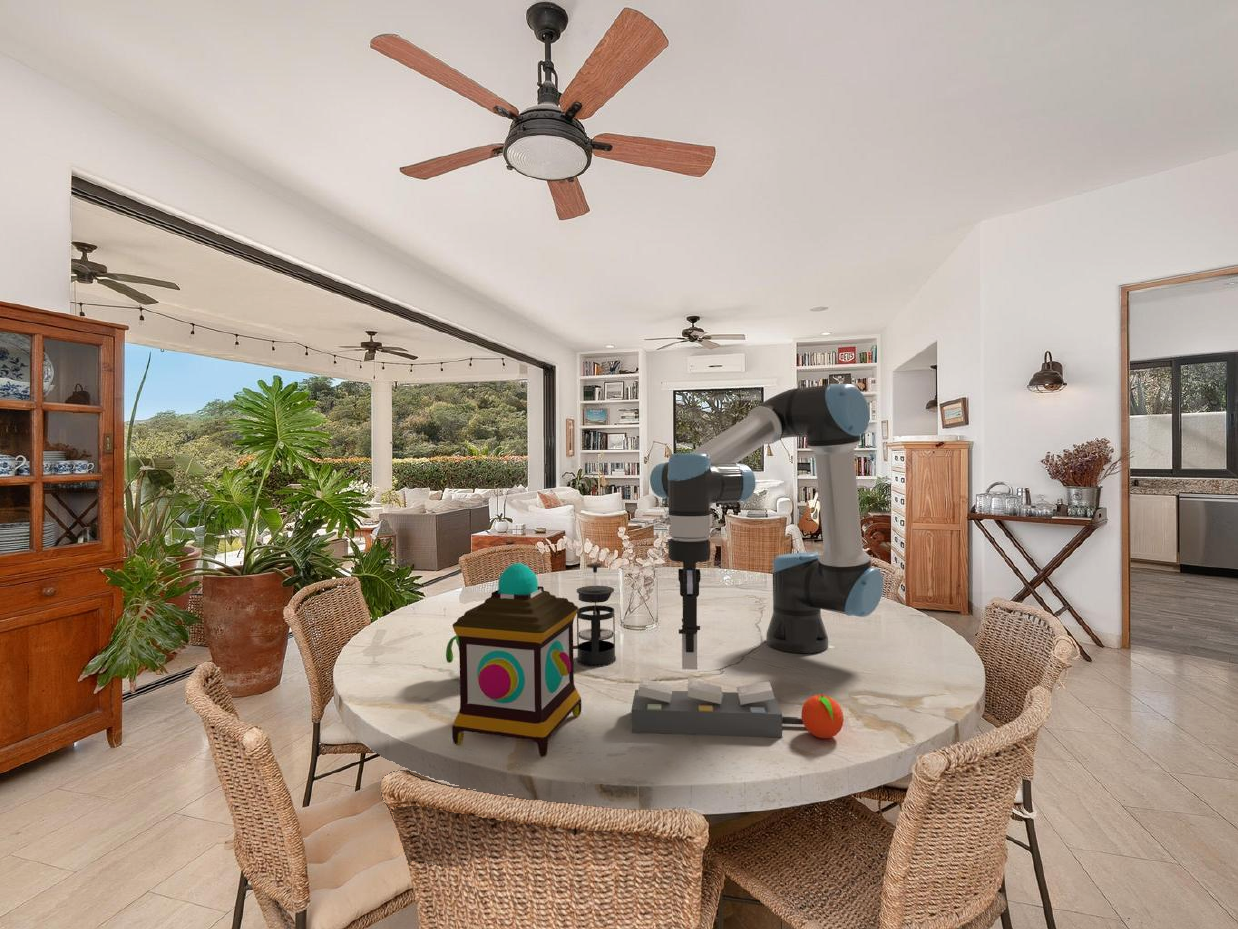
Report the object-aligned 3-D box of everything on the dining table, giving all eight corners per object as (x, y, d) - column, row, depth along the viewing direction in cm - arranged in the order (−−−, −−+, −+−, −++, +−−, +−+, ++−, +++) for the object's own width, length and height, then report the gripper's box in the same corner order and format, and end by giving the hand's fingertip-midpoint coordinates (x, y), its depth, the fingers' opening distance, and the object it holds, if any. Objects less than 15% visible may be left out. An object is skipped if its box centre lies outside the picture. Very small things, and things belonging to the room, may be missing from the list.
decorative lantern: (497, 701, 121) (494, 552, 120) (591, 712, 115) (588, 555, 114) (440, 749, 101) (436, 571, 101) (549, 765, 96) (546, 576, 95)
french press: (618, 653, 149) (617, 560, 148) (618, 666, 139) (617, 567, 139) (571, 653, 149) (569, 560, 148) (567, 667, 139) (566, 568, 139)
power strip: (807, 715, 112) (807, 692, 112) (818, 738, 103) (817, 713, 103) (635, 710, 115) (635, 688, 115) (631, 732, 107) (631, 708, 106)
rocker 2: (719, 695, 111) (721, 686, 111) (720, 704, 107) (722, 694, 107) (687, 687, 112) (689, 678, 112) (687, 696, 108) (689, 686, 108)
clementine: (853, 748, 100) (853, 705, 100) (813, 750, 99) (812, 707, 99) (833, 726, 108) (833, 686, 108) (795, 728, 107) (795, 688, 107)
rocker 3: (771, 690, 110) (768, 680, 110) (774, 698, 106) (772, 689, 106) (738, 695, 111) (736, 686, 111) (740, 704, 107) (738, 695, 107)
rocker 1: (670, 693, 112) (672, 684, 112) (670, 702, 108) (672, 693, 108) (639, 686, 113) (640, 677, 113) (637, 694, 109) (639, 685, 109)
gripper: (669, 533, 116) (669, 655, 116) (667, 543, 103) (668, 680, 103) (708, 533, 115) (708, 656, 116) (711, 543, 102) (712, 681, 103)
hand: (689, 667), depth 110 cm, fingers closed
